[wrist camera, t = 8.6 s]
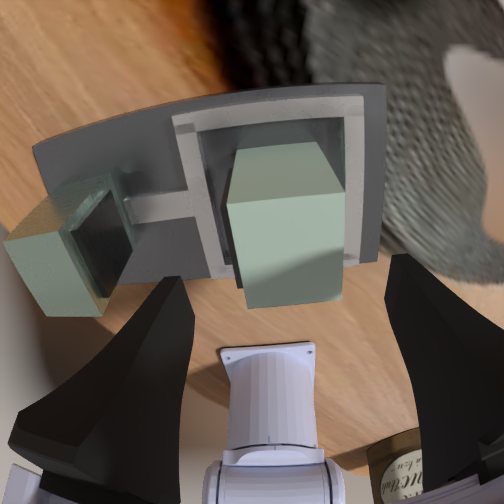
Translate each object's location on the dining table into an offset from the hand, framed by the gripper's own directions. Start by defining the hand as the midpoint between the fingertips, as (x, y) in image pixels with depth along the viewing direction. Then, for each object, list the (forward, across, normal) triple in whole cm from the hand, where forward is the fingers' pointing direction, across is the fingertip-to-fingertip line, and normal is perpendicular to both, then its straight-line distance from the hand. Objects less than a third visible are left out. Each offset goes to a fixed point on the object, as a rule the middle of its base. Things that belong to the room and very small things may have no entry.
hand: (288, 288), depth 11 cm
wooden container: (+9, -20, +50) cm, 55 cm away
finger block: (+8, 0, 0) cm, 8 cm away
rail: (+9, +4, 0) cm, 9 cm away
